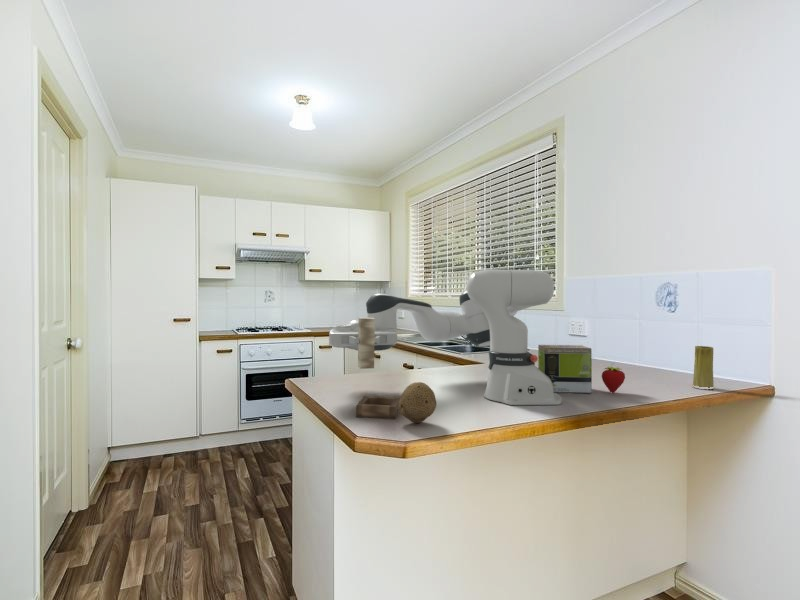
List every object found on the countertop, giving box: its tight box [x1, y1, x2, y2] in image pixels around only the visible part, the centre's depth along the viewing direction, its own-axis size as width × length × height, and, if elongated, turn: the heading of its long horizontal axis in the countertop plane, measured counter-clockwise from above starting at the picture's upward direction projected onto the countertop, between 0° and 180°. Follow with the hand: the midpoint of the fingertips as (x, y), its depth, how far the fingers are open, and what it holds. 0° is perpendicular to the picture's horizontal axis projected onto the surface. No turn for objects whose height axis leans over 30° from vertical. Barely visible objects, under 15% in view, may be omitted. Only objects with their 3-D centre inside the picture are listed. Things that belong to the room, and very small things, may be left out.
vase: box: [692, 345, 715, 388], centre depth 155 cm, size 6×6×14 cm
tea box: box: [537, 344, 593, 394], centre depth 150 cm, size 15×10×15 cm
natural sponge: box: [398, 381, 437, 424], centre depth 109 cm, size 9×9×10 cm
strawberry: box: [601, 362, 626, 393], centre depth 146 cm, size 6×8×10 cm
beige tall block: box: [357, 317, 375, 370], centre depth 128 cm, size 4×4×14 cm
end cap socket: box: [355, 395, 401, 420], centre depth 118 cm, size 10×10×3 cm
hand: (366, 341), depth 127 cm, fingers closed on beige tall block, 4 cm apart
